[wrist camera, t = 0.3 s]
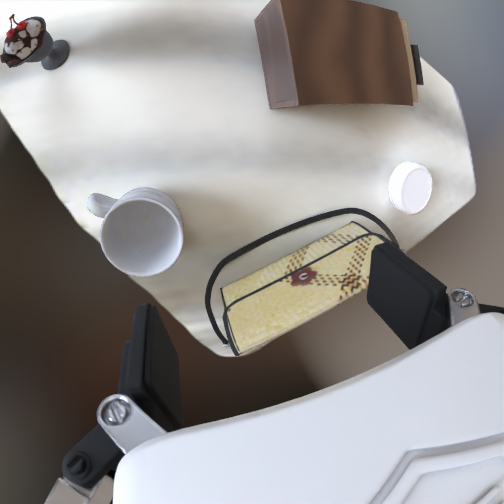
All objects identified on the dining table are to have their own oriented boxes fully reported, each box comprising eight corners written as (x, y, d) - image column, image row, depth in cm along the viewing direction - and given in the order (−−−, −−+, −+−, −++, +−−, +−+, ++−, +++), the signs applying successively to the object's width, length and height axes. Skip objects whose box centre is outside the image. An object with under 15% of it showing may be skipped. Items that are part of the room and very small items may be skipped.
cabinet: (356, 25, 31) (397, 11, 22) (369, 104, 38) (413, 105, 29) (254, 19, 29) (277, -8, 20) (269, 109, 36) (298, 105, 27)
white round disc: (416, 153, 44) (428, 156, 41) (425, 196, 49) (436, 201, 46) (381, 173, 44) (393, 178, 41) (393, 218, 49) (404, 225, 46)
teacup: (198, 218, 41) (202, 240, 34) (149, 265, 42) (144, 293, 35) (132, 151, 34) (120, 158, 27) (84, 206, 35) (65, 225, 28)
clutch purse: (352, 192, 45) (411, 224, 32) (360, 226, 48) (414, 264, 35) (193, 271, 44) (201, 335, 31) (212, 301, 48) (227, 366, 35)
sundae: (72, 27, 22) (28, -6, 9) (76, 63, 26) (27, 40, 13) (35, 47, 22) (-18, 27, 9) (39, 82, 25) (-19, 73, 12)
